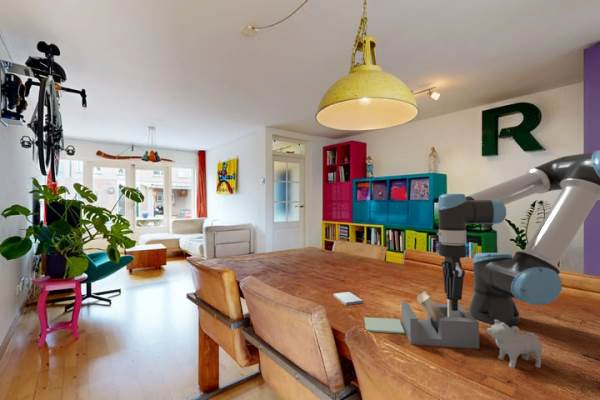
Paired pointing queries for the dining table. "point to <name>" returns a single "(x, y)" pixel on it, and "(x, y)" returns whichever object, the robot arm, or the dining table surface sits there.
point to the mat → (384, 325)
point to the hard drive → (348, 298)
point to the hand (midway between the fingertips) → (453, 319)
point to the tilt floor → (427, 311)
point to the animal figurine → (515, 343)
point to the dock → (441, 328)
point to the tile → (430, 305)
